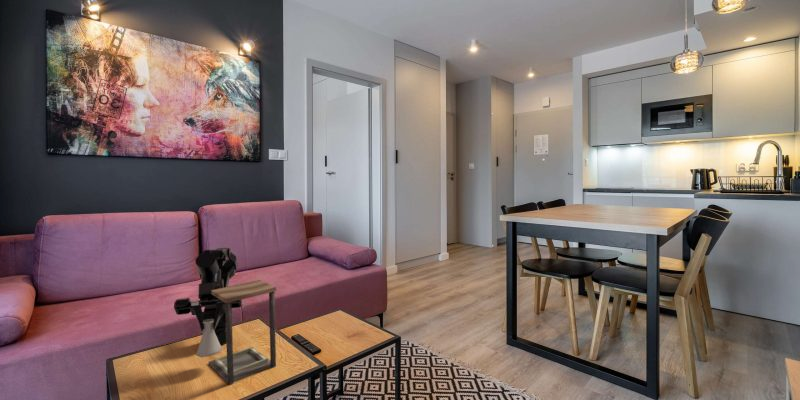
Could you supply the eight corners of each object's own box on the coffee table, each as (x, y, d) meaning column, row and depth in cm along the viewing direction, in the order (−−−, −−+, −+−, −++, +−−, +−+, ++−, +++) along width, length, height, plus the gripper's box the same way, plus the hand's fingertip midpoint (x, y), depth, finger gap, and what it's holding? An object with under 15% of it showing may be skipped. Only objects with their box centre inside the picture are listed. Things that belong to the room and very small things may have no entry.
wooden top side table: (206, 364, 115) (204, 286, 113) (253, 348, 126) (251, 276, 124) (228, 386, 103) (225, 299, 102) (277, 366, 114) (276, 287, 112)
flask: (197, 360, 107) (196, 326, 107) (193, 351, 113) (193, 319, 113) (224, 353, 111) (223, 321, 111) (219, 345, 117) (218, 314, 117)
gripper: (173, 273, 111) (167, 323, 101) (240, 268, 118) (240, 314, 108) (179, 290, 119) (174, 338, 109) (242, 284, 126) (241, 328, 116)
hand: (208, 329), depth 111 cm, fingers closed on flask, 3 cm apart
